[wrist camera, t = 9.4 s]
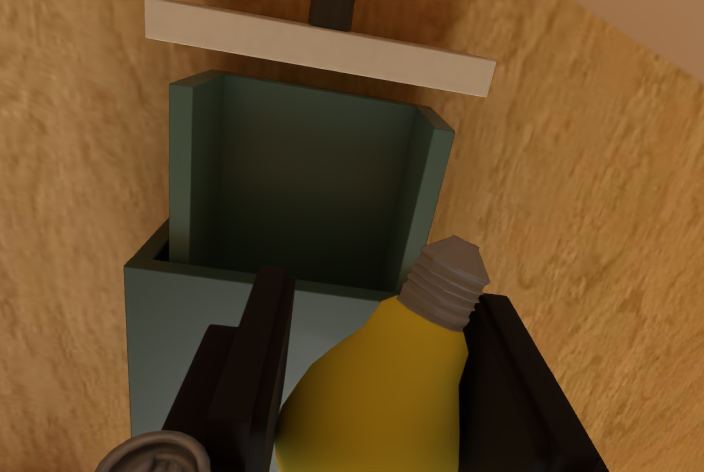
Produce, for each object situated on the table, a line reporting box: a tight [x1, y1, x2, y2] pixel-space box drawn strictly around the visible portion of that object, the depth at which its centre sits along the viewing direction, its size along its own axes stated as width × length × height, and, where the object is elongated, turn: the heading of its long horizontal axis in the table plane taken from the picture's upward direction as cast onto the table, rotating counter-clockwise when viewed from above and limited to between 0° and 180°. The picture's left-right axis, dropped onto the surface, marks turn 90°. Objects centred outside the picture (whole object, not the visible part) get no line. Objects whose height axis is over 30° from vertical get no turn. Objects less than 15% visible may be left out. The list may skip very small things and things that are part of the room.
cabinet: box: [124, 218, 400, 472], centre depth 24 cm, size 15×13×8 cm
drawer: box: [144, 0, 497, 294], centre depth 20 cm, size 15×11×6 cm
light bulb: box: [274, 235, 490, 472], centre depth 9 cm, size 3×6×4 cm, turn 153°
